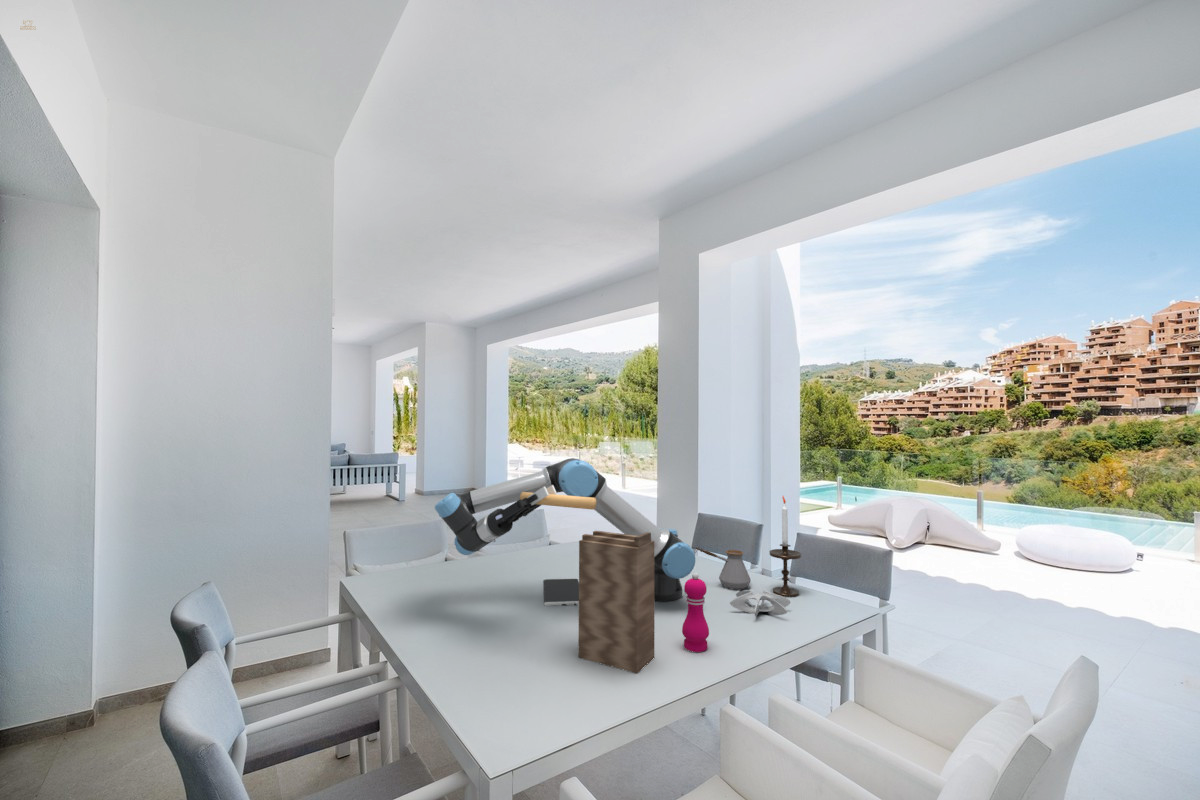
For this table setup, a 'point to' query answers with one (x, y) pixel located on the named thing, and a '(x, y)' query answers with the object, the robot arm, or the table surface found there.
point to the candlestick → (785, 558)
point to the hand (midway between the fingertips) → (550, 490)
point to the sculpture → (776, 601)
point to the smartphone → (561, 592)
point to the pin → (565, 501)
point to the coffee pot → (732, 570)
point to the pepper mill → (695, 616)
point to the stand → (616, 599)
